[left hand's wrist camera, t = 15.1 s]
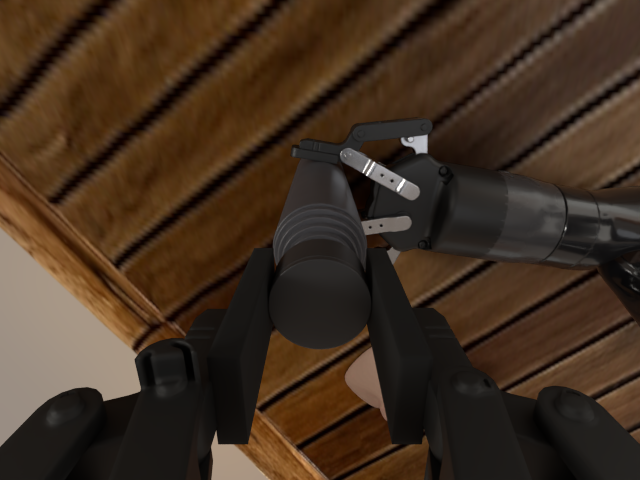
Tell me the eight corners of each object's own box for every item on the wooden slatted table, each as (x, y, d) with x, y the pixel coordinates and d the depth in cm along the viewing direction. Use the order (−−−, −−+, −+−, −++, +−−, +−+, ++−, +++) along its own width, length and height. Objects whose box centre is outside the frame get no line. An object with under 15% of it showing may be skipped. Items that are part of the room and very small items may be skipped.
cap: (269, 240, 14) (261, 262, 12) (364, 235, 14) (371, 256, 12) (279, 321, 15) (273, 351, 14) (365, 317, 15) (372, 347, 13)
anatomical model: (335, 417, 42) (379, 342, 39) (334, 392, 46) (374, 321, 42) (435, 450, 44) (486, 381, 40) (426, 422, 48) (472, 357, 44)
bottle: (348, 156, 36) (400, 258, 13) (335, 200, 37) (361, 361, 14) (303, 143, 35) (271, 226, 12) (292, 188, 37) (246, 336, 14)
